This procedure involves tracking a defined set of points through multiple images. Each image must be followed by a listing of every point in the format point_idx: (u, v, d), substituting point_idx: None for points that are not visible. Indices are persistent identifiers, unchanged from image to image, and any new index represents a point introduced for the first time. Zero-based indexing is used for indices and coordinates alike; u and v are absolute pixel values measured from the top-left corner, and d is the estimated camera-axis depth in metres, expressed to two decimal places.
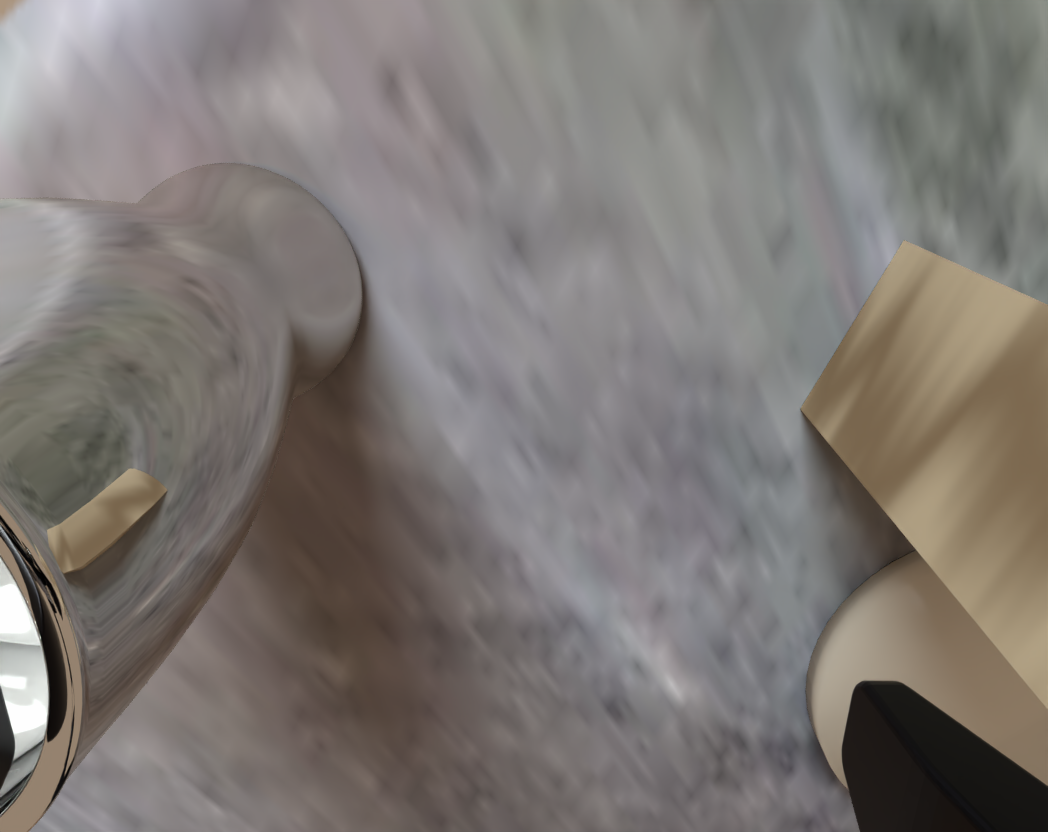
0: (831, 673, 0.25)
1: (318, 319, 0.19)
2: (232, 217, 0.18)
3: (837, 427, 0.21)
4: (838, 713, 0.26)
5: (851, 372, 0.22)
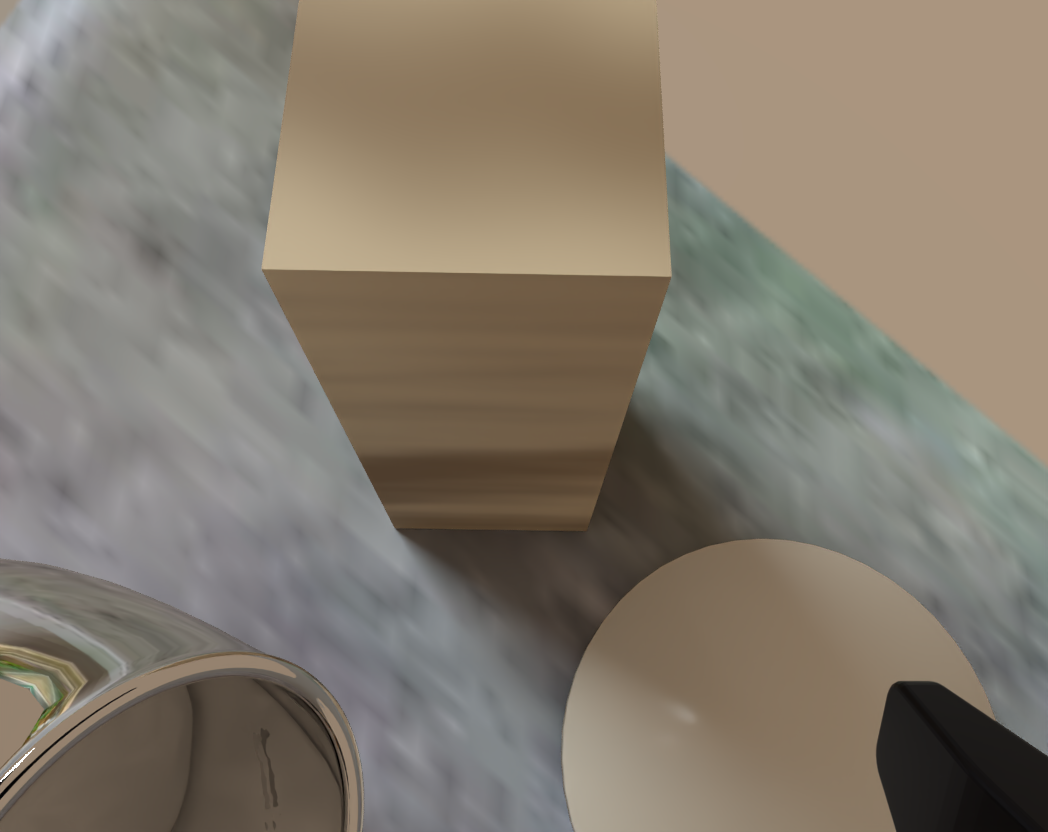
0: (574, 804, 0.19)
1: None
2: None
3: None
4: None
5: None
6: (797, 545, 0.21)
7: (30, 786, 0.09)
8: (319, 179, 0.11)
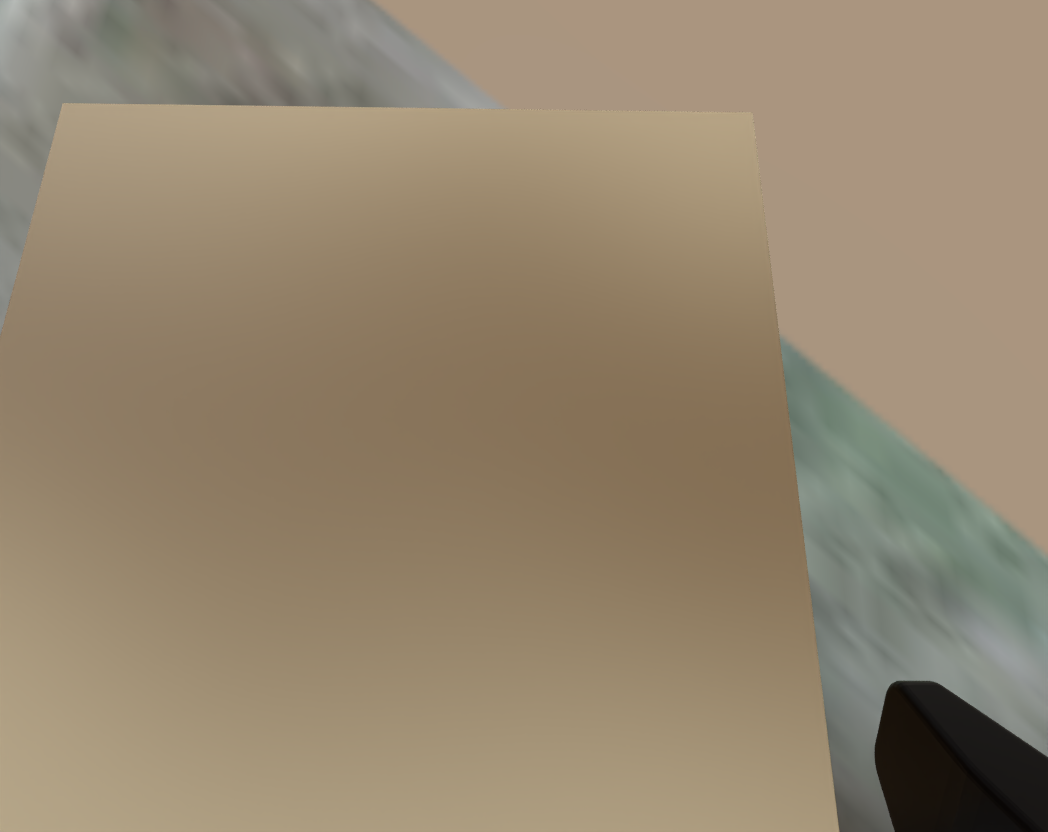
0: None
1: None
2: None
3: None
4: None
5: None
6: None
7: None
8: (28, 615, 0.05)
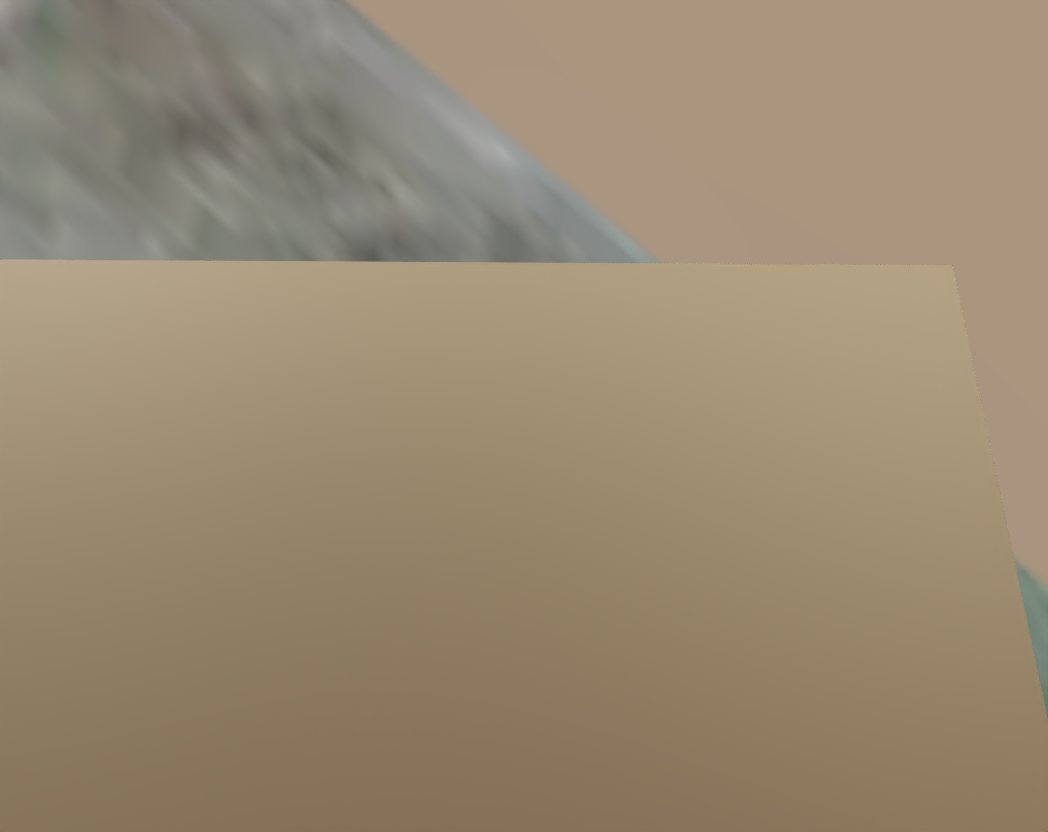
0: None
1: None
2: None
3: None
4: None
5: None
6: None
7: None
8: None
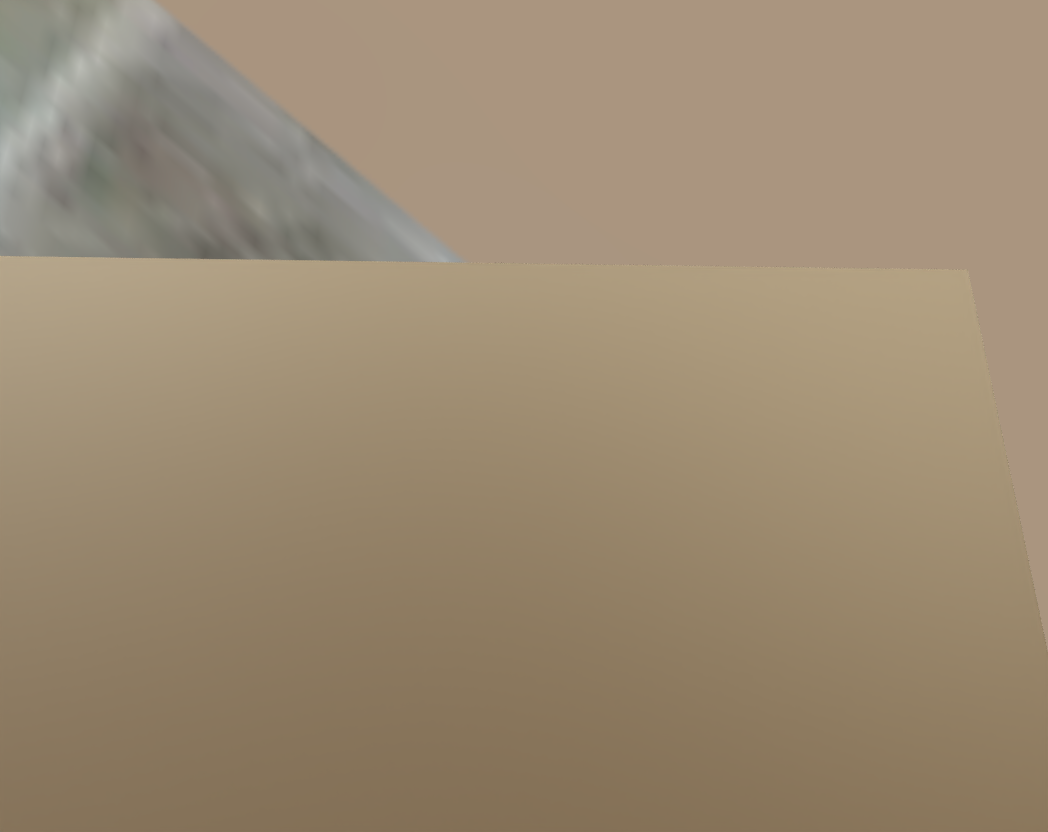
0: None
1: None
2: None
3: None
4: None
5: None
6: None
7: None
8: None
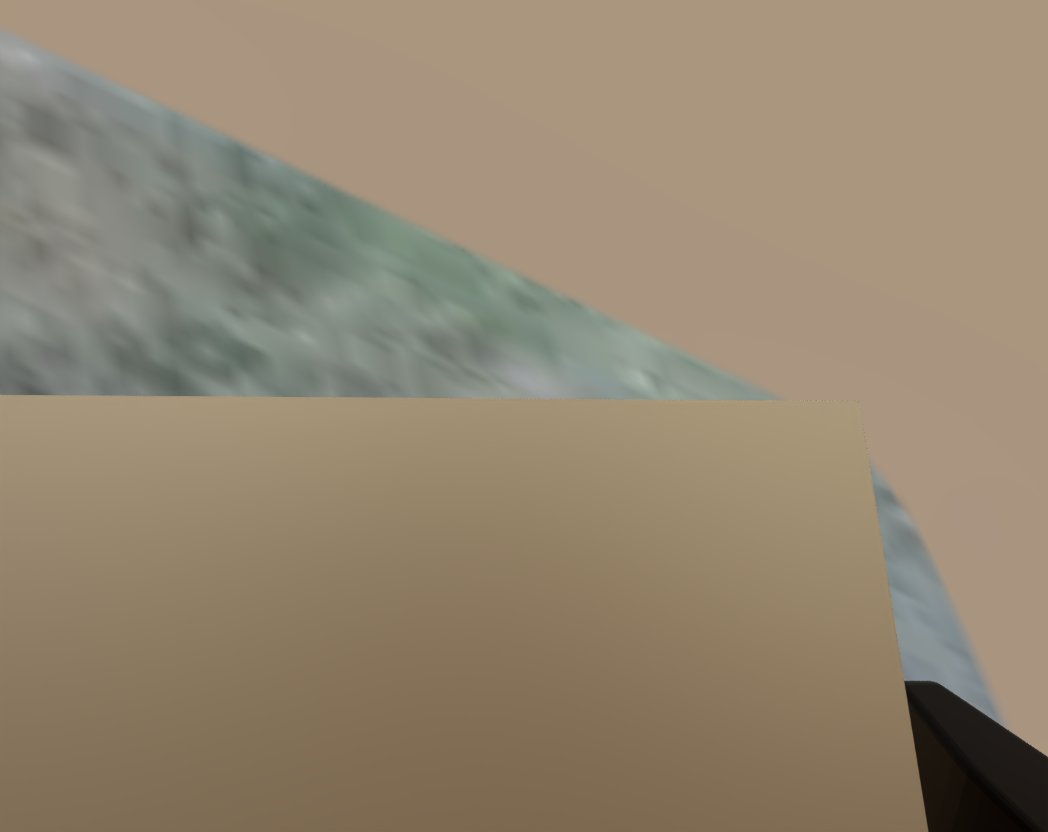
0: None
1: None
2: None
3: None
4: None
5: None
6: None
7: None
8: None
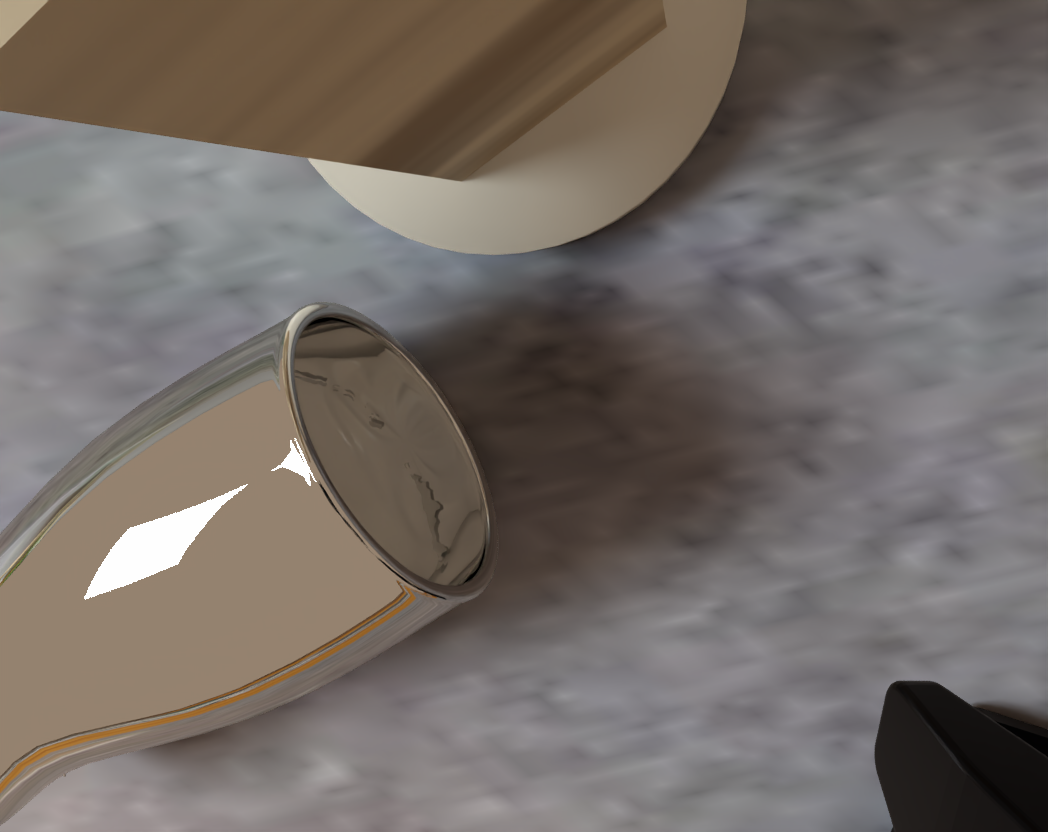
0: (392, 225, 0.19)
1: None
2: None
3: None
4: (460, 223, 0.18)
5: None
6: None
7: (330, 480, 0.14)
8: None
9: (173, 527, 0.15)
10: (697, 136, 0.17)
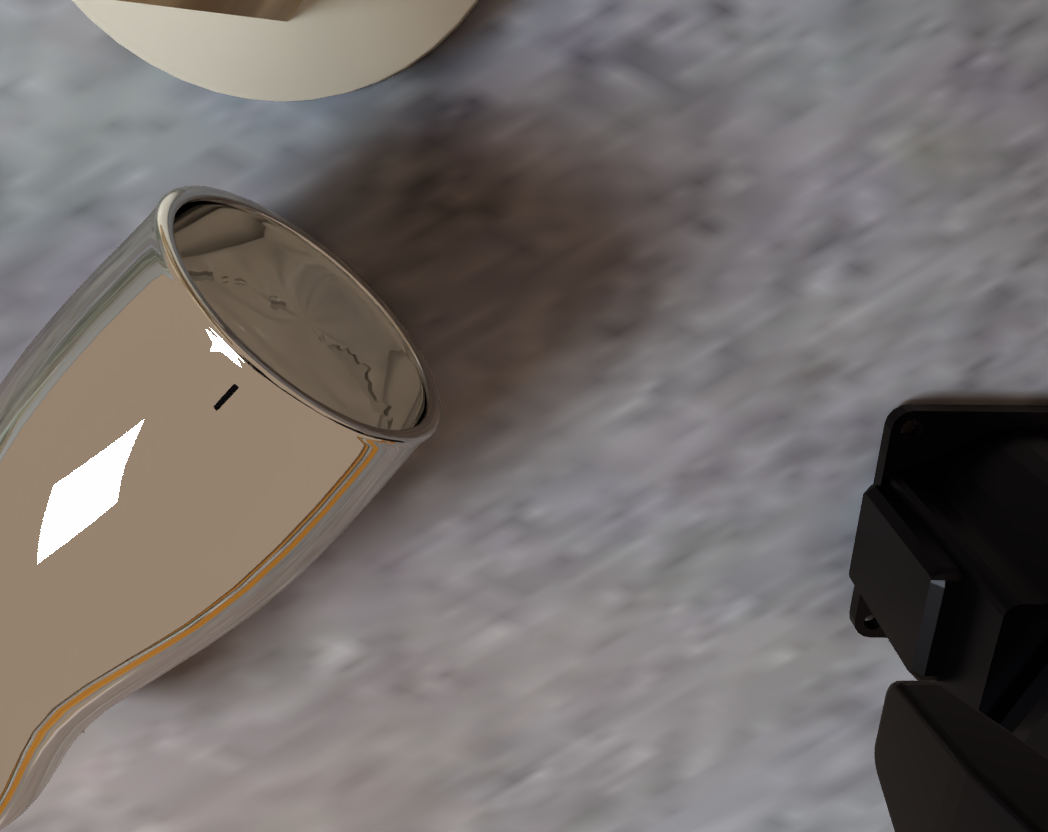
0: (229, 89, 0.17)
1: None
2: None
3: None
4: (300, 67, 0.17)
5: None
6: None
7: (256, 355, 0.14)
8: None
9: (111, 450, 0.14)
10: None
